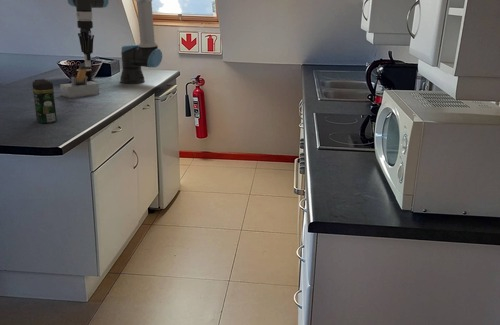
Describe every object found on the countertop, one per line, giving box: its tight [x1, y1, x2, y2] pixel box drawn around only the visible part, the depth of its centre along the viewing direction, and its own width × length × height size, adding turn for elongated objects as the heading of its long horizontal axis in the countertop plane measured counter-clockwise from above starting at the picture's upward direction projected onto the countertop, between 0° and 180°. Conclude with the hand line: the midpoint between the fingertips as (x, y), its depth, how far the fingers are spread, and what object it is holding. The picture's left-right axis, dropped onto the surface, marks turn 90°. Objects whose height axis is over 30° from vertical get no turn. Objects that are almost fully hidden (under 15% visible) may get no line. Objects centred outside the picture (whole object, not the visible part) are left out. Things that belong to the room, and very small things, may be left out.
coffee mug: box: [69, 68, 93, 81], centre depth 295 cm, size 12×9×10 cm
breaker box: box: [59, 76, 100, 99], centre depth 273 cm, size 9×18×10 cm, turn 135°
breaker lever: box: [75, 62, 89, 84], centre depth 268 cm, size 2×4×14 cm
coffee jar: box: [32, 78, 58, 124], centre depth 217 cm, size 10×8×19 cm
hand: (88, 66), depth 260 cm, fingers closed
